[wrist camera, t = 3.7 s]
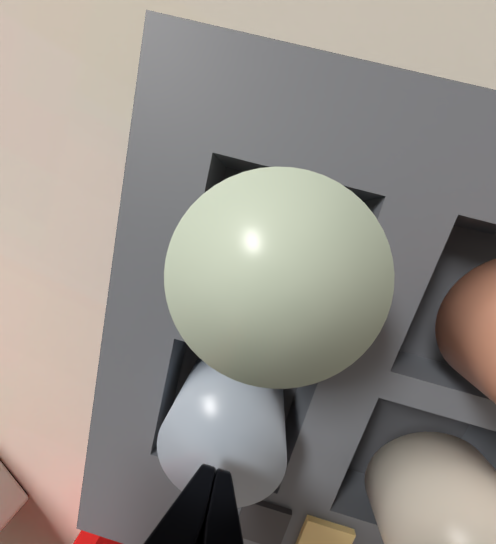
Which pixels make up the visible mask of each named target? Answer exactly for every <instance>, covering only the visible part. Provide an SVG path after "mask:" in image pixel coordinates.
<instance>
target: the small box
mask: <svg viewBox="0 0 496 544" xmlns="http://www.w3.org/2000/svg"><path fill="white" fill-rule="evenodd" d="M27 500H28V495H27V494H26V493H25V491H24V490H23V489H22V488H21V486H20V485H19V484H18V483H17V481H16V480H15V479H14V478H13V476H12V475H11V474H10V473H9V471H8V470H7V469H6V467H5V466H4V465H3V464H2V462H1V461H0V532H1V530H2V529H3V528H4V527H5V526H6V525H7V523H8V522H9V521H10V520H11V519H12V518H13V516H14V515H15V514H16V513H17V512H18V511H19V510H20V508H21V507H22V506H23V505H24V504H25V503H26V501H27Z"/></svg>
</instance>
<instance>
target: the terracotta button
mask: <svg viewBox="0 0 496 544" xmlns="http://www.w3.org/2000/svg"><path fill="white" fill-rule="evenodd" d="M435 334H436V341H437V345H438V347H439V350H440V352H441V354H442V356H443V357H444V359H445V360H446V361H447V363H448V364H449V365H450V366H451V367H452V368H453V369H454V370H455V371H457V372H458V373H459V374H460V375H461V376H463V377H464V378H465V379H466V380H467V381H469V382H470V383H471V384H472V385H473V386H475V387H476V388H477V389H478V390H479V391H481V392H482V393H483V394H484V395H485V396H487V397H488V398H489V399H490V400H491V401H493V402H494V403H495V404H496V259H493V260H490V261H488V262H485V263H483V264H481V265H479V266H477V267H476V268H474V269H472V270H471V271H469V272H468V273H467V274H465V275H464V276H463V277H462V278H460V279H459V280H458V281H457V282H456V283H455V284H454V285H453V287H452V288H451V289H450V290H449V292H448V293H447V294H446V296H445V298H444V299H443V301H442V303H441V305H440V308H439V310H438V313H437V318H436V324H435Z"/></svg>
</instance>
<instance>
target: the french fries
mask: <svg viewBox="0 0 496 544" xmlns="http://www.w3.org/2000/svg"><path fill="white" fill-rule="evenodd" d="M73 544H122V543H119V542H116V541H113V540H110V539H107V538H104V537H101V536H98V535H95V534H92V533H89V532H86V531H83V530H81V532H80V533H79V535H78V537H77V538H76V540H75V541H74V543H73Z"/></svg>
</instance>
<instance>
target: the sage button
mask: <svg viewBox="0 0 496 544" xmlns="http://www.w3.org/2000/svg"><path fill="white" fill-rule="evenodd" d="M394 276H395V274H394V264H393V257H392V253H391V250H390V246H389V243H388V240H387V238H386V235H385V233H384V230H383V228H382V227H381V225H380V223H379V222H378V220H377V218H376V217H375V215H374V214H373V213H372V212H371V210H370V209H369V208H368V207H367V205H366V204H365V203H364V202H363V201H362V200H361V199H360V198H359V197H357V196H356V195H355V194H354V193H353V192H352V191H350V190H349V189H348V188H346V187H345V186H343V185H342V184H340V183H339V182H337V181H335V180H333V179H331V178H329V177H327V176H325V175H322V174H319V173H316V172H313V171H310V170H305V169H300V168H294V167H276V166H275V167H265V168H257V169H253V170H249V171H245V172H242V173H239V174H237V175H234V176H231V177H229V178H227V179H225V180H223V181H222V182H220V183H218V184H216V185H214V186H213V187H212V188H210V189H209V190H208V191H206V192H205V193H204V194H202V195H201V196H200V197H199V198H198V199H197V200H196V201H195V202H194V203H193V204H192V205H191V206H190V208H189V209H188V210H187V212H186V213H185V214H184V216H183V217H182V218H181V220H180V222H179V224H178V225H177V227H176V229H175V231H174V233H173V236H172V238H171V241H170V243H169V247H168V251H167V255H166V259H165V268H164V288H165V295H166V301H167V304H168V308H169V312H170V314H171V317H172V319H173V322H174V324H175V326H176V328H177V330H178V331H179V333H180V335H181V337H182V338H183V339H184V341H185V342H186V343H187V345H188V346H189V347H190V349H191V350H192V351H193V352H194V353H195V354H196V355H197V356H198V357H199V358H200V359H201V360H203V361H204V362H205V363H206V364H207V365H209V366H210V367H211V368H213V369H215V370H216V371H218V372H219V373H221V374H223V375H225V376H227V377H229V378H231V379H233V380H236V381H238V382H241V383H244V384H247V385H252V386H256V387H261V388H270V389H289V388H297V387H303V386H307V385H311V384H315V383H318V382H320V381H323V380H326V379H328V378H330V377H332V376H334V375H336V374H338V373H340V372H341V371H343V370H344V369H346V368H347V367H349V366H350V365H352V364H353V363H354V362H355V361H356V360H357V359H358V358H360V357H361V356H362V355H363V354H364V353H365V351H366V350H367V349H368V348H369V347H370V346H371V345H372V343H373V342H374V340H375V339H376V337H377V336H378V334H379V333H380V331H381V329H382V327H383V325H384V323H385V321H386V319H387V316H388V313H389V310H390V307H391V303H392V298H393V292H394Z"/></svg>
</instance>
